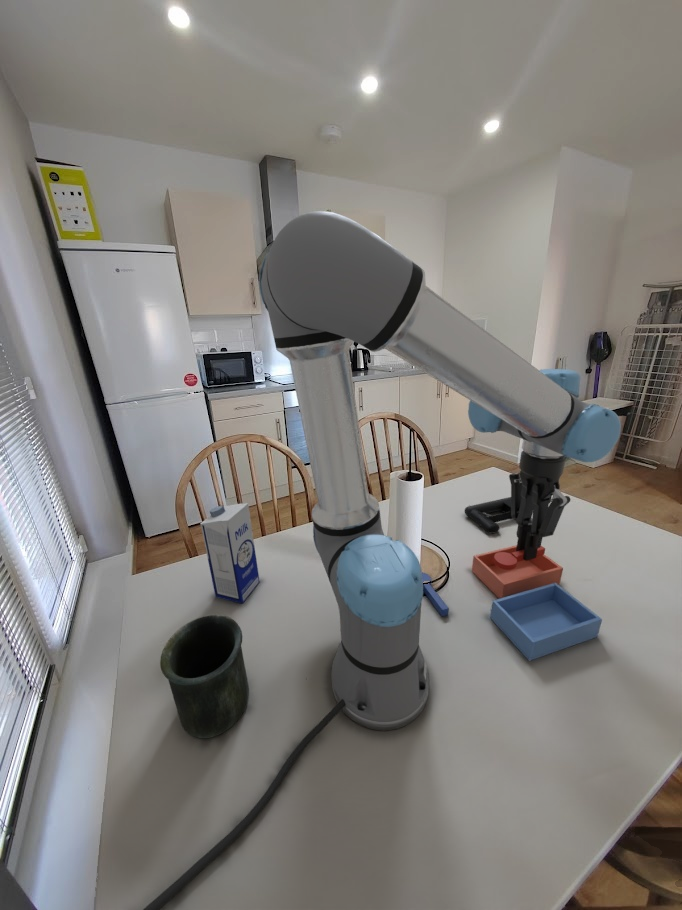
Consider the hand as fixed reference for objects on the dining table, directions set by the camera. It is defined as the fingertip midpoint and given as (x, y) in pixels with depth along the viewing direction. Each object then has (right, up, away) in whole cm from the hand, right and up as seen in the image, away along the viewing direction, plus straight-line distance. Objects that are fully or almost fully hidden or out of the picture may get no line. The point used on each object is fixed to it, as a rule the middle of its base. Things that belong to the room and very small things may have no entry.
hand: (525, 555), depth 76 cm
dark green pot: (-59, -16, -21) cm, 65 cm away
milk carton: (-62, -8, +1) cm, 63 cm away
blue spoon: (-21, -7, -3) cm, 23 cm away
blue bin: (-3, -10, -11) cm, 15 cm away
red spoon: (-2, -1, 0) cm, 2 cm away
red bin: (-2, -5, +1) cm, 6 cm away
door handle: (+7, +3, +23) cm, 24 cm away
